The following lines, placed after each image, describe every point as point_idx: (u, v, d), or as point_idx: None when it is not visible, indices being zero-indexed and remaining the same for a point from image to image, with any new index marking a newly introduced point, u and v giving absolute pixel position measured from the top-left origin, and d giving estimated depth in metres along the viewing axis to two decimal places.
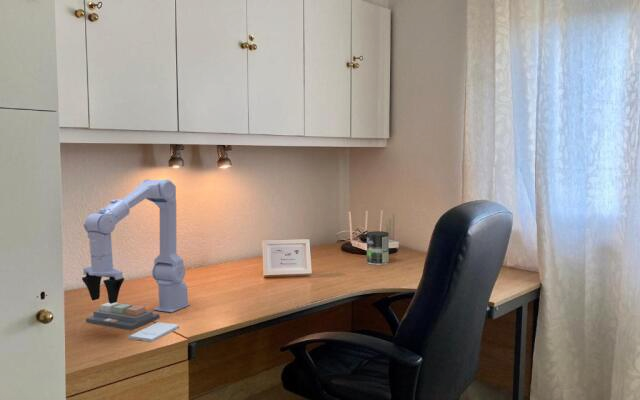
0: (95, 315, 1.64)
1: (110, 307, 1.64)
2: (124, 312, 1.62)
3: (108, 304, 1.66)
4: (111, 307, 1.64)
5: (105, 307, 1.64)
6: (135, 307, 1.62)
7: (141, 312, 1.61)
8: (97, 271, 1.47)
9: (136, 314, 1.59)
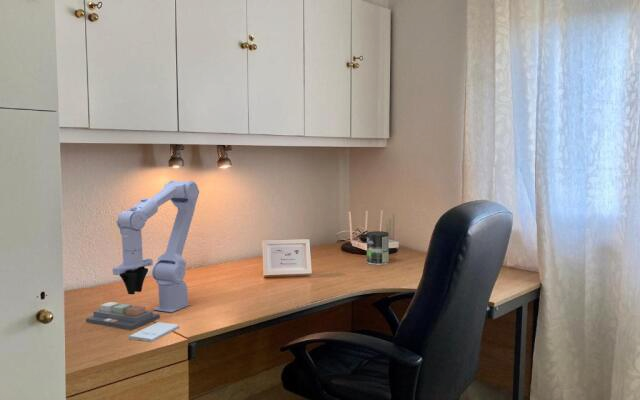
0: (95, 315, 1.64)
1: (110, 307, 1.64)
2: (124, 312, 1.62)
3: (108, 304, 1.66)
4: (111, 307, 1.64)
5: (105, 307, 1.64)
6: (135, 307, 1.62)
7: (141, 312, 1.61)
8: None
9: (136, 314, 1.59)
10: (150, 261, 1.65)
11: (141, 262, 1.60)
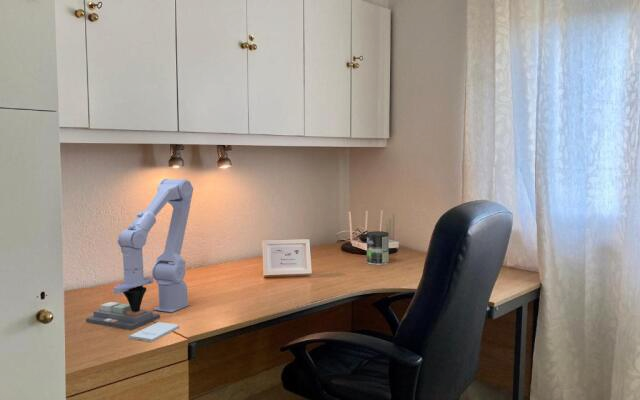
0: (95, 315, 1.64)
1: (110, 307, 1.64)
2: (124, 312, 1.62)
3: (108, 304, 1.66)
4: (111, 307, 1.64)
5: (105, 307, 1.64)
6: None
7: None
8: None
9: None
10: (151, 279, 1.66)
11: (142, 281, 1.60)
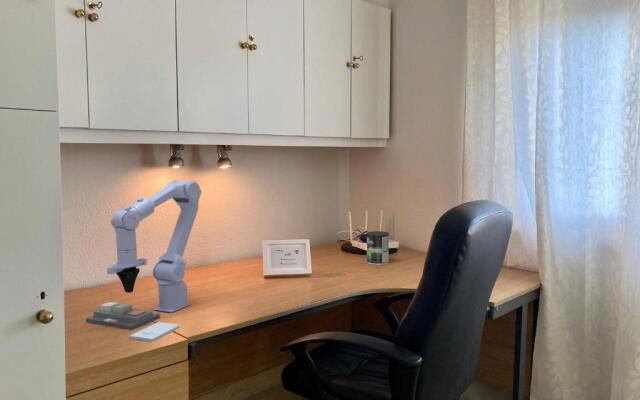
0: (95, 315, 1.64)
1: (110, 307, 1.64)
2: (124, 312, 1.62)
3: (108, 304, 1.66)
4: (111, 307, 1.64)
5: (105, 307, 1.64)
6: (135, 311, 1.62)
7: None
8: (118, 262, 1.61)
9: None
10: (144, 260, 1.66)
11: (135, 261, 1.61)
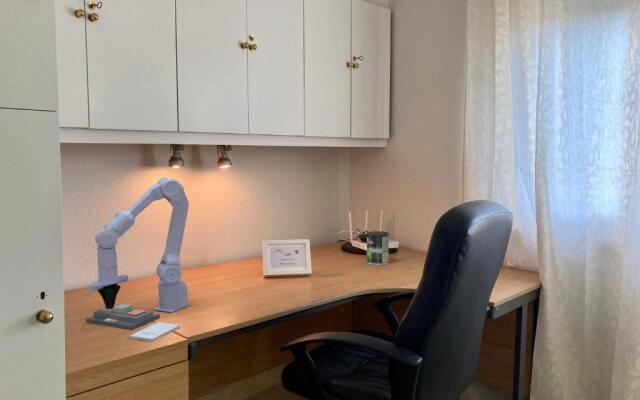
0: (95, 315, 1.64)
1: (110, 311, 1.64)
2: (124, 312, 1.62)
3: None
4: (111, 311, 1.64)
5: (105, 311, 1.64)
6: (135, 311, 1.62)
7: None
8: None
9: None
10: (125, 277, 1.71)
11: (116, 279, 1.65)
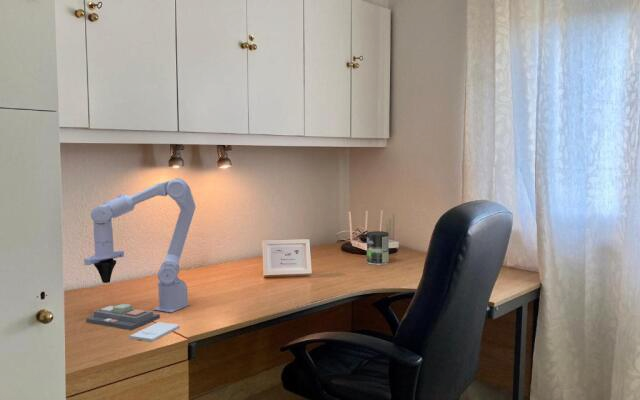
0: (95, 315, 1.64)
1: (110, 311, 1.64)
2: (124, 312, 1.62)
3: (108, 308, 1.66)
4: (111, 311, 1.64)
5: (105, 311, 1.64)
6: (135, 311, 1.62)
7: None
8: None
9: None
10: (121, 253, 1.75)
11: (112, 253, 1.70)
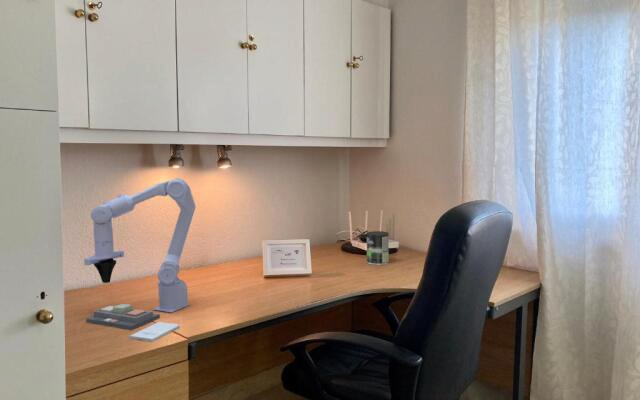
0: (95, 315, 1.64)
1: (110, 311, 1.64)
2: (124, 312, 1.62)
3: (108, 308, 1.66)
4: (111, 311, 1.64)
5: (105, 311, 1.64)
6: (135, 311, 1.62)
7: None
8: None
9: None
10: (121, 253, 1.75)
11: (112, 253, 1.70)
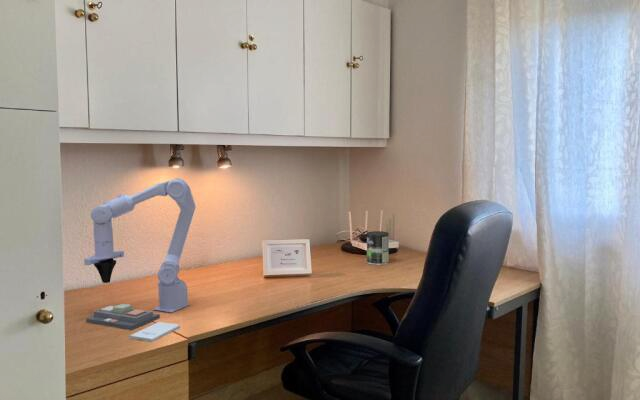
0: (95, 315, 1.64)
1: (110, 311, 1.64)
2: (124, 312, 1.62)
3: (108, 308, 1.66)
4: (111, 311, 1.64)
5: (105, 311, 1.64)
6: (135, 311, 1.62)
7: None
8: None
9: None
10: (121, 253, 1.75)
11: (112, 253, 1.70)
